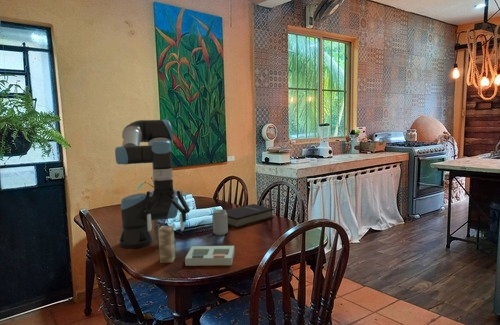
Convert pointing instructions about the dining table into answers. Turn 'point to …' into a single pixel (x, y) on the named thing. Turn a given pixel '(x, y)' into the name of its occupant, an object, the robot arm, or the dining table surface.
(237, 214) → the book
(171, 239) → the maple peg
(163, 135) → the robot arm
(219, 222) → the can
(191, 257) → the socket board
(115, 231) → the dining table surface
